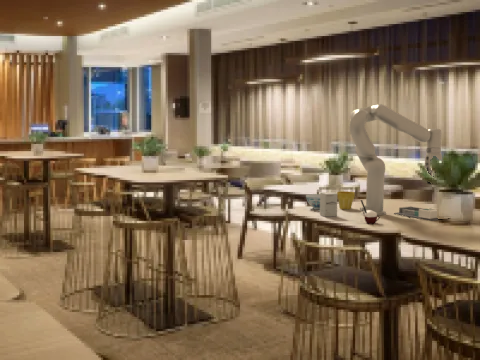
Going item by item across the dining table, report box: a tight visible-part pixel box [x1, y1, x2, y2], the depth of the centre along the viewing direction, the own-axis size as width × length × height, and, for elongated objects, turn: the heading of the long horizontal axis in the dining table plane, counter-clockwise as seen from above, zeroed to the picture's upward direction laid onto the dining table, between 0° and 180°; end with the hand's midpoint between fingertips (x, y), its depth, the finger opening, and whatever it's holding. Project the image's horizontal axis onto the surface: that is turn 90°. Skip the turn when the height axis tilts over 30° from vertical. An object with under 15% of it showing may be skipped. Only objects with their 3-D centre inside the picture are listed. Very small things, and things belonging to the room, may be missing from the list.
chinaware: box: [305, 193, 320, 211], centre depth 358 cm, size 15×15×8 cm
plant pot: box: [336, 190, 355, 210], centre depth 359 cm, size 10×10×10 cm
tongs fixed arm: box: [398, 205, 419, 216], centre depth 335 cm, size 9×15×3 cm, turn 32°
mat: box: [393, 212, 439, 222], centre depth 331 cm, size 14×27×1 cm, turn 32°
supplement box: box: [319, 191, 338, 218], centre depth 332 cm, size 7×7×13 cm
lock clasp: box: [419, 207, 437, 219], centre depth 323 cm, size 10×8×4 cm
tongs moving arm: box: [411, 206, 429, 211], centre depth 336 cm, size 2×12×3 cm, turn 32°
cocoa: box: [360, 199, 381, 225], centre depth 308 cm, size 10×6×12 cm
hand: (432, 183), depth 338 cm, fingers open, 3 cm apart
